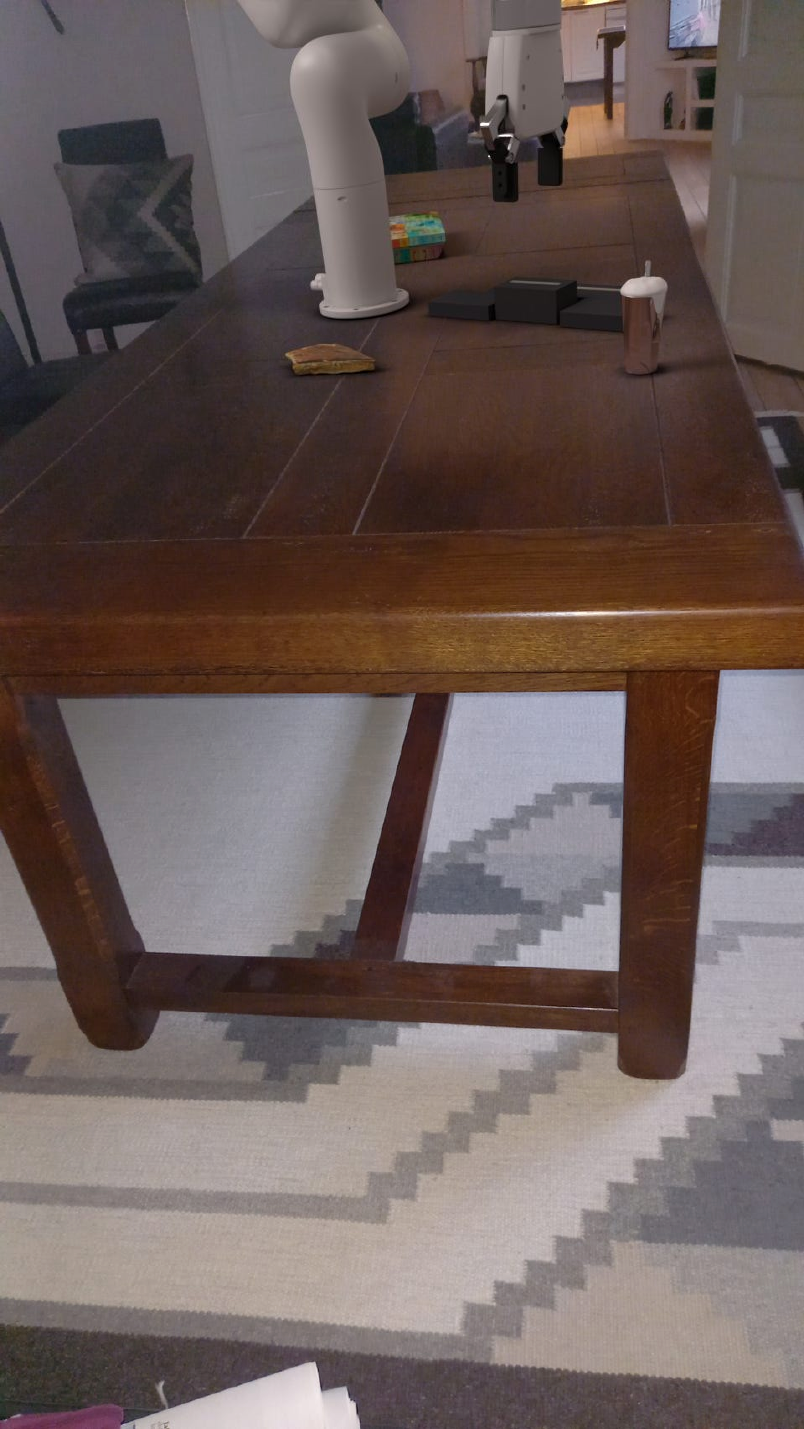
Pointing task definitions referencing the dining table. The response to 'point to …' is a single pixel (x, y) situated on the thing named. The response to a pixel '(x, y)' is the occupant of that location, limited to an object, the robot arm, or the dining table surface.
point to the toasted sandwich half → (329, 359)
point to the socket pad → (590, 312)
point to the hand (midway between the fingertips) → (528, 193)
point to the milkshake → (642, 321)
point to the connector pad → (534, 299)
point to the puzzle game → (417, 236)
